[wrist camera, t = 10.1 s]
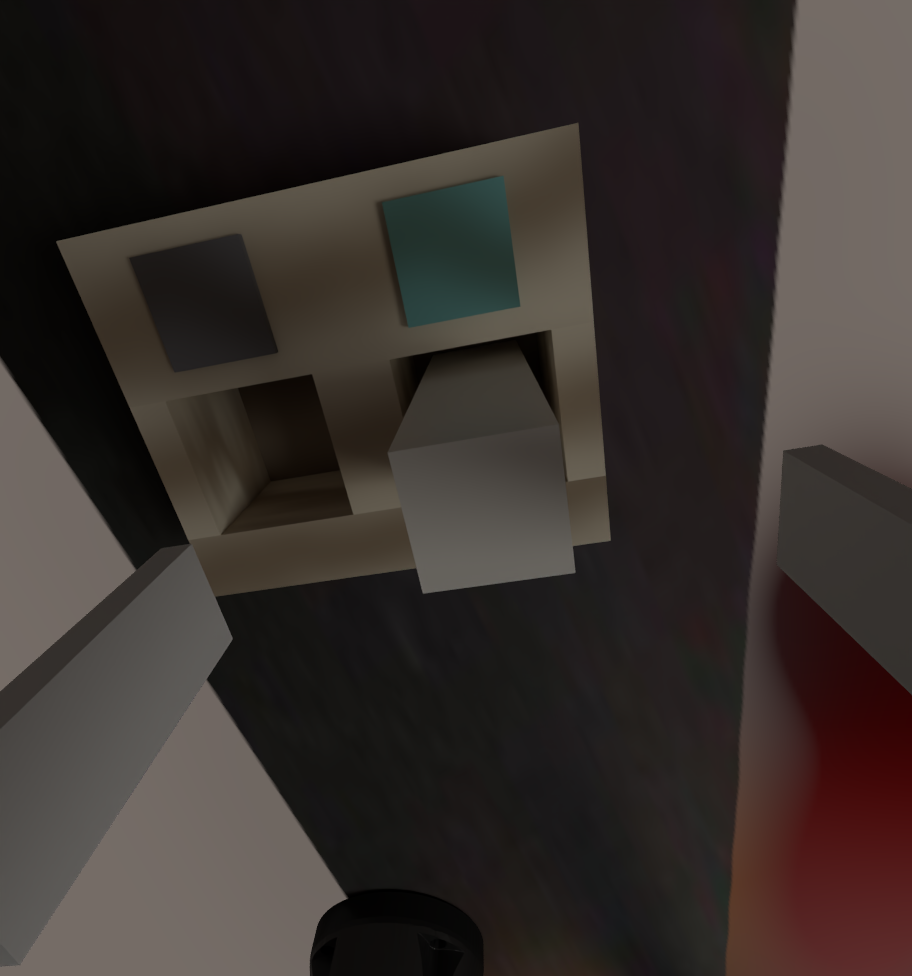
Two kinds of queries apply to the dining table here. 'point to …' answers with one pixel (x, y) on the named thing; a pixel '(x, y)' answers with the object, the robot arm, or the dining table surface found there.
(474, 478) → the plug
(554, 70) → the dining table surface
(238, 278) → the socket board
